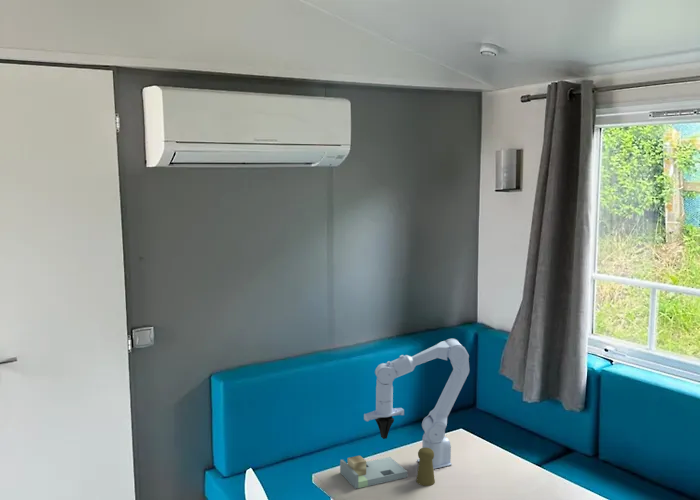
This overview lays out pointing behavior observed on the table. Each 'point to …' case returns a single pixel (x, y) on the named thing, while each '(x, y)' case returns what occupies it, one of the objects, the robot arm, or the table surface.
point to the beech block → (358, 465)
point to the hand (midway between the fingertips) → (383, 437)
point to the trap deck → (373, 472)
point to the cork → (425, 467)
